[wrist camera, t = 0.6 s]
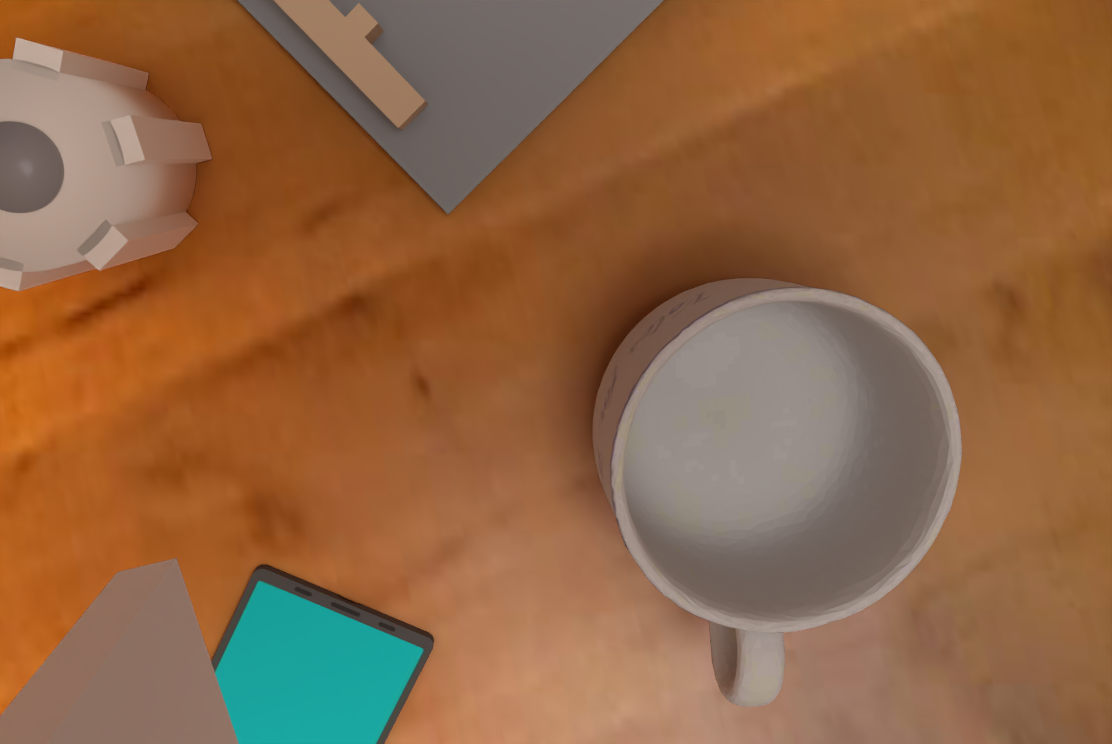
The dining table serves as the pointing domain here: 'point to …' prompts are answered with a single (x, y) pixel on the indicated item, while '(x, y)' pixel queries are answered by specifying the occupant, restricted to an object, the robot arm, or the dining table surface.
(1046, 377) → the dining table surface
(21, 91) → the planet gear
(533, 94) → the carrier plate
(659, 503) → the teacup
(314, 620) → the smartphone
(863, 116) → the dining table surface
